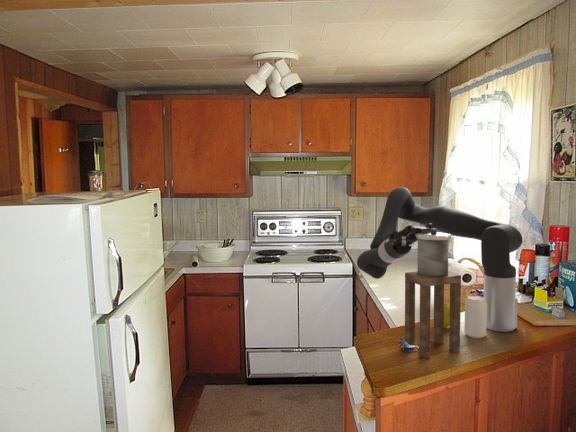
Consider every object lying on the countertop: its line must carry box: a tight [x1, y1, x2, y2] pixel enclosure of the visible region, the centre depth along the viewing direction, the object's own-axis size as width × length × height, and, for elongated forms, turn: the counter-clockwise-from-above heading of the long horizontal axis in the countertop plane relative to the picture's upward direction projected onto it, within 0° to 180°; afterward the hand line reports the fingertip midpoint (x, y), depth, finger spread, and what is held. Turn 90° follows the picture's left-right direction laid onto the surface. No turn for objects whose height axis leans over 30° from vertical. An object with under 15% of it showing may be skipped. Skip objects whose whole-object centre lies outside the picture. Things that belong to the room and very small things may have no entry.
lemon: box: [444, 303, 450, 329], centre depth 146 cm, size 6×6×8 cm
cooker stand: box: [404, 239, 462, 359], centre depth 128 cm, size 12×9×32 cm
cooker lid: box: [411, 225, 452, 241], centre depth 128 cm, size 9×14×3 cm, turn 20°
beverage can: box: [464, 295, 488, 339], centre depth 138 cm, size 6×6×12 cm
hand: (421, 227), depth 131 cm, fingers open, 6 cm apart
